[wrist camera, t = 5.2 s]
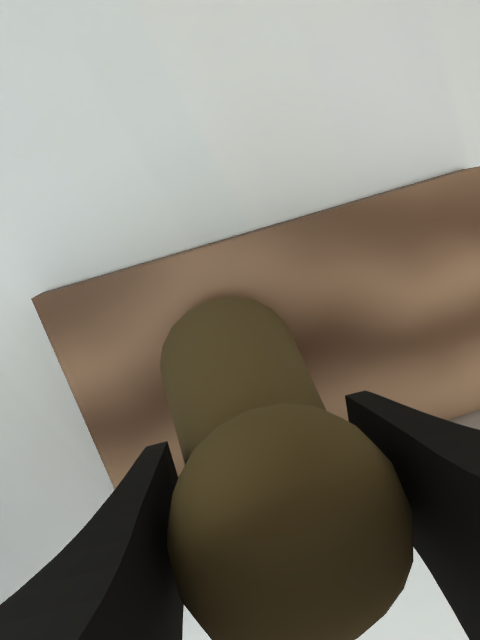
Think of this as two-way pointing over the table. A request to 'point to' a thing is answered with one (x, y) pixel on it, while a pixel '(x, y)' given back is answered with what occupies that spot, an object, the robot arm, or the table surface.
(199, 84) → the table surface
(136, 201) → the table surface
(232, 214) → the table surface
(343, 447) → the cork
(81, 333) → the tan wooden plank
